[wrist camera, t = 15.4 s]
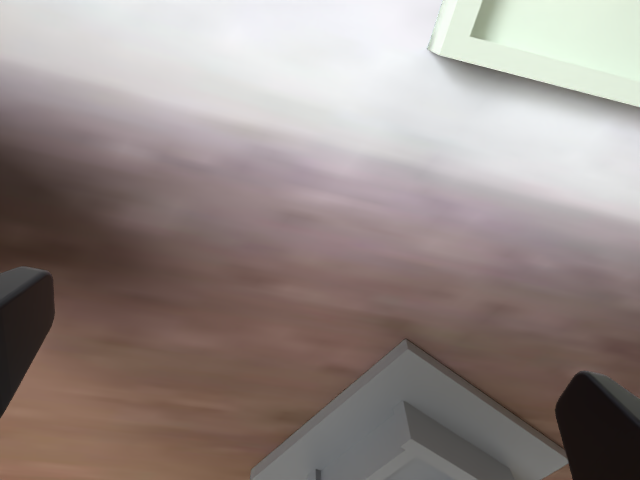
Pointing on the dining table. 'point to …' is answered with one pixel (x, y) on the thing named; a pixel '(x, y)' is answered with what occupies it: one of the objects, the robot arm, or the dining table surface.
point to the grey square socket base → (412, 431)
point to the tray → (548, 42)
